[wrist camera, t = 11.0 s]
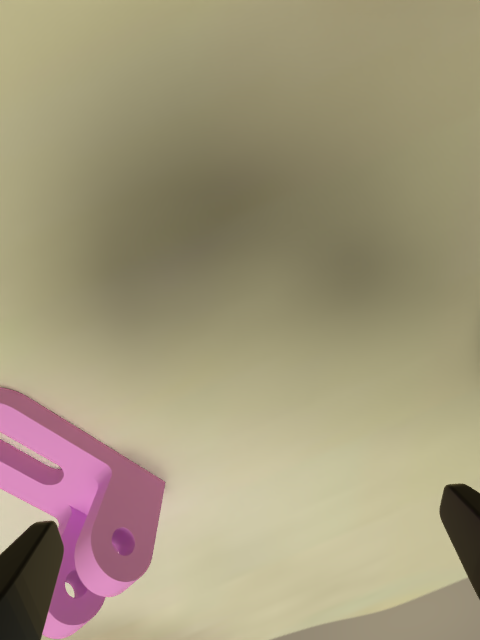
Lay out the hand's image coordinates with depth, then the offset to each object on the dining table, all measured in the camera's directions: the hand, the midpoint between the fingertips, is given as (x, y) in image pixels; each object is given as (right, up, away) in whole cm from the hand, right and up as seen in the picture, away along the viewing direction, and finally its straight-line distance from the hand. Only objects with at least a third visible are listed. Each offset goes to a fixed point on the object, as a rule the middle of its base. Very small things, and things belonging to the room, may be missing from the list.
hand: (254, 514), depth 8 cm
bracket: (-12, -4, +14) cm, 19 cm away
